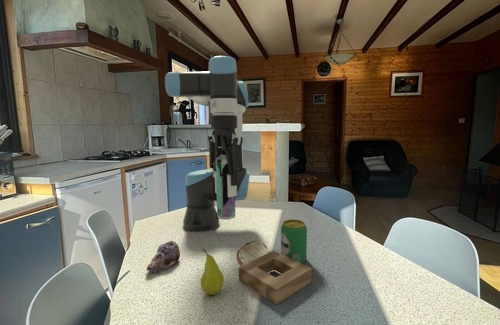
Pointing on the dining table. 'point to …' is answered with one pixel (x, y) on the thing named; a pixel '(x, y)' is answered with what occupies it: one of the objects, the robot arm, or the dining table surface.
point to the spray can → (223, 189)
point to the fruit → (211, 277)
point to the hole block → (272, 287)
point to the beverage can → (294, 240)
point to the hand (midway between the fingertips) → (225, 194)
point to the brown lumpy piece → (164, 256)
